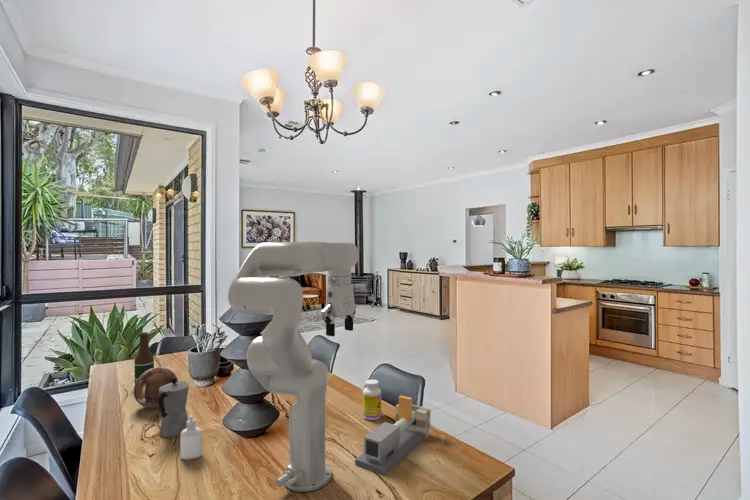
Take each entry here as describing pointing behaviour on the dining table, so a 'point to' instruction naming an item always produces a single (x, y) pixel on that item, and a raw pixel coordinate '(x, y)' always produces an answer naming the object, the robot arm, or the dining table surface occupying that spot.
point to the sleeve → (381, 442)
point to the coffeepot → (173, 408)
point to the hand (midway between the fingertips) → (339, 332)
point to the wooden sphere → (152, 386)
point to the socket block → (419, 420)
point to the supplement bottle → (372, 400)
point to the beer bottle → (143, 357)
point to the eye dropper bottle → (191, 441)
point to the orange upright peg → (405, 413)
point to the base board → (392, 459)
